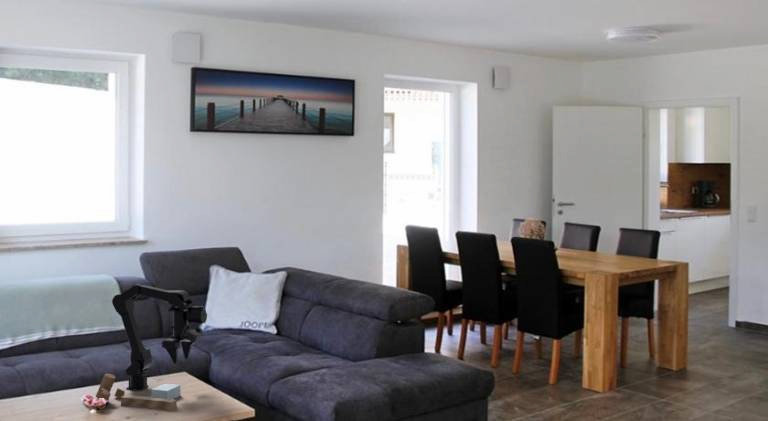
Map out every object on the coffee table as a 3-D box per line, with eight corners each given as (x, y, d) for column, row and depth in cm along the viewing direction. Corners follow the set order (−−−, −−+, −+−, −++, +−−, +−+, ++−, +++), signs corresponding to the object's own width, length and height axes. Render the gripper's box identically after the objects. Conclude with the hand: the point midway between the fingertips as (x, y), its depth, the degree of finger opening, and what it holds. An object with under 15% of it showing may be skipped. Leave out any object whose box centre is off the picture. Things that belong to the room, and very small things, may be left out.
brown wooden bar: (120, 405, 299) (120, 397, 299) (125, 402, 302) (125, 395, 302) (172, 410, 293) (172, 402, 292) (176, 407, 295) (176, 399, 295)
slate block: (151, 400, 306) (151, 389, 305) (165, 394, 314) (165, 383, 314) (167, 402, 303) (167, 390, 303) (180, 396, 312) (180, 385, 312)
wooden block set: (104, 416, 293) (115, 391, 292) (83, 407, 293) (93, 382, 292) (122, 400, 311) (132, 377, 310) (102, 391, 311) (112, 368, 310)
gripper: (185, 327, 306) (186, 367, 307) (210, 319, 324) (210, 357, 325) (160, 326, 310) (161, 366, 310) (186, 318, 328) (186, 355, 328)
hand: (181, 361), depth 318 cm, fingers open, 8 cm apart
